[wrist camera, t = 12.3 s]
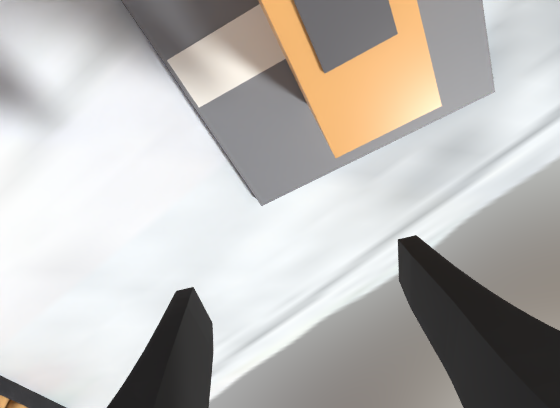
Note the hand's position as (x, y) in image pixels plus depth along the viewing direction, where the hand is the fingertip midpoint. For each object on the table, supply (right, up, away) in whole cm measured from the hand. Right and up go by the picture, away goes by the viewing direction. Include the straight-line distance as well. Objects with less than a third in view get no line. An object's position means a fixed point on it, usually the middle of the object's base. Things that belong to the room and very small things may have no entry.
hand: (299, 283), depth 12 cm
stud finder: (+1, +12, +3) cm, 12 cm away
